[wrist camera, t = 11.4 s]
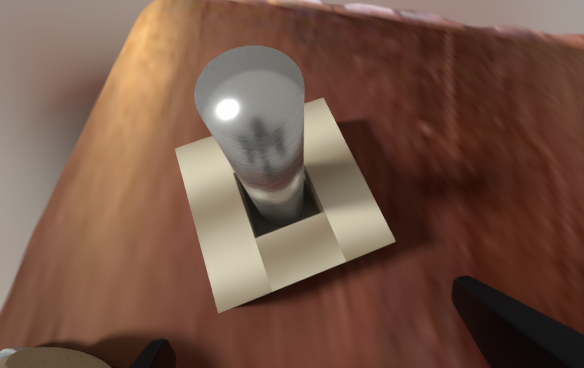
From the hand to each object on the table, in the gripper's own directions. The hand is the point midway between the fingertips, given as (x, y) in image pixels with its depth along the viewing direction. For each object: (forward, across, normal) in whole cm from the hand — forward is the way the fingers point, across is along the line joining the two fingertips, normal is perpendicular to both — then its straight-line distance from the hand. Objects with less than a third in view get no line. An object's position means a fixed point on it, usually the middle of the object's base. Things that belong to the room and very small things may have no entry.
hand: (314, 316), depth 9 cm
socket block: (+14, +1, +4) cm, 15 cm away
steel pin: (+14, +1, +3) cm, 14 cm away
